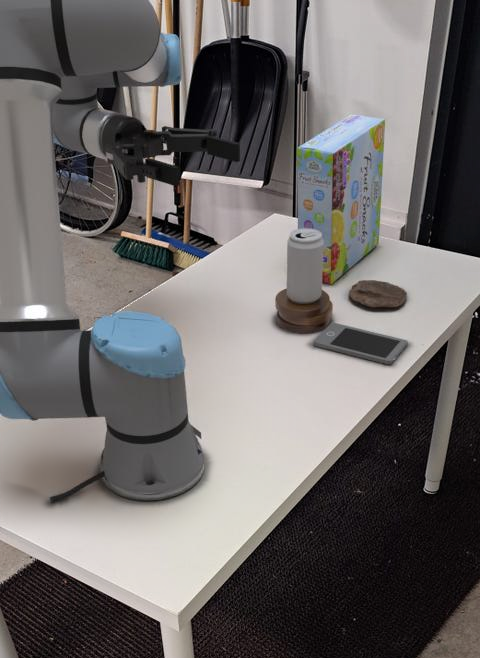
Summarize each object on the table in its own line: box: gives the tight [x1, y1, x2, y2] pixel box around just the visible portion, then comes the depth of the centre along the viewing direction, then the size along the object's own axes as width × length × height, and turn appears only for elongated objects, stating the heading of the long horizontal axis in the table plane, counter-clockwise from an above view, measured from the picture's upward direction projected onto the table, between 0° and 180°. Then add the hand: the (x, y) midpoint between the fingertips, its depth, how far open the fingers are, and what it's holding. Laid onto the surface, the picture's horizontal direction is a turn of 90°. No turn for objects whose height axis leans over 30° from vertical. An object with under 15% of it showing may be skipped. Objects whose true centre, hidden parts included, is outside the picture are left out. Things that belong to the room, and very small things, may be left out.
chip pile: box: [274, 287, 334, 334], centre depth 158 cm, size 10×10×4 cm
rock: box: [348, 279, 408, 308], centre depth 165 cm, size 11×12×3 cm
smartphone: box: [312, 322, 408, 365], centre depth 152 cm, size 15×8×1 cm, turn 60°
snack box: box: [296, 114, 386, 285], centre depth 170 cm, size 22×9×26 cm, turn 147°
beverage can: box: [286, 228, 324, 304], centre depth 153 cm, size 6×6×12 cm
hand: (209, 164), depth 131 cm, fingers open, 13 cm apart
